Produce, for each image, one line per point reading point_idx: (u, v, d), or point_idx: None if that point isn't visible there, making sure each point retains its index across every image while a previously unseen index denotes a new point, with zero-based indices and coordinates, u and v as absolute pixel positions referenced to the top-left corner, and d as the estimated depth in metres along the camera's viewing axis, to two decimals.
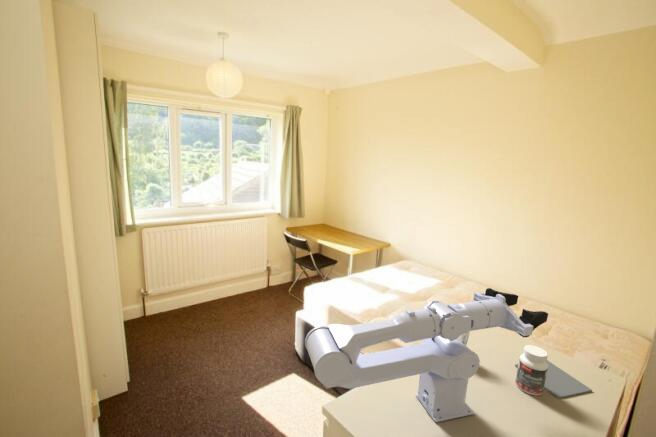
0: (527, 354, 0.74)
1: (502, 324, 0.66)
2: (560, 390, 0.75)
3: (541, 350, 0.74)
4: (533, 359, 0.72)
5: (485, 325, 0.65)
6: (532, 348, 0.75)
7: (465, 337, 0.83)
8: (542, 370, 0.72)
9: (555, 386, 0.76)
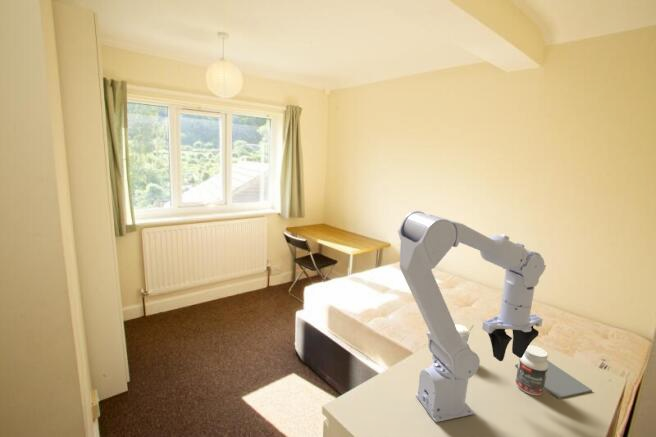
0: (527, 354, 0.74)
1: (500, 315, 0.71)
2: (560, 390, 0.75)
3: (541, 350, 0.74)
4: (533, 359, 0.72)
5: (524, 303, 0.67)
6: (532, 348, 0.75)
7: (465, 337, 0.83)
8: (542, 370, 0.72)
9: (555, 386, 0.76)
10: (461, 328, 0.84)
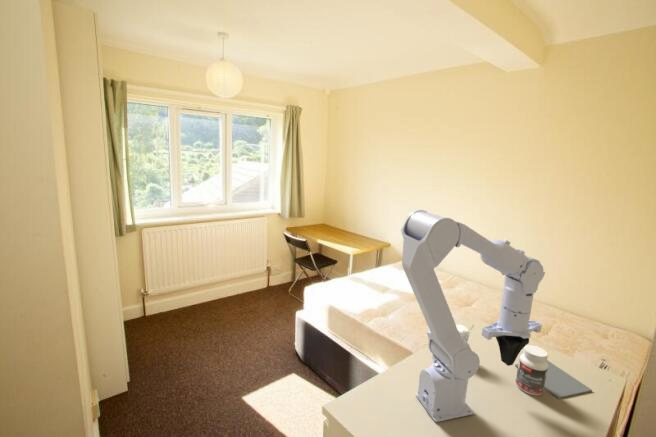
0: (527, 354, 0.74)
1: (499, 321, 0.71)
2: (560, 390, 0.75)
3: (541, 350, 0.74)
4: (533, 359, 0.72)
5: (523, 310, 0.67)
6: (532, 348, 0.75)
7: (465, 337, 0.83)
8: (542, 370, 0.72)
9: (555, 386, 0.76)
10: (461, 328, 0.84)
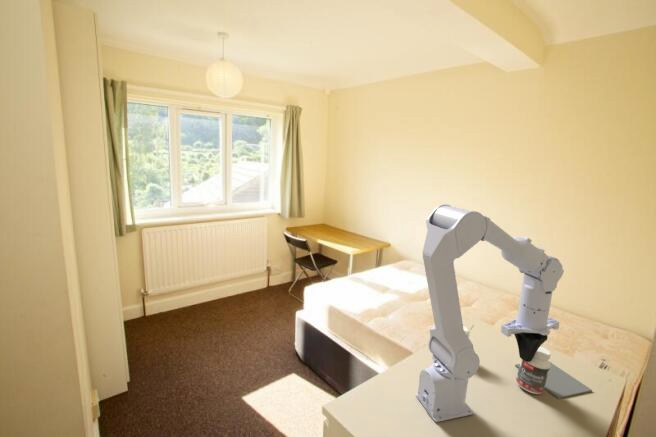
0: None
1: (518, 318, 0.72)
2: (560, 390, 0.75)
3: (544, 349, 0.74)
4: (536, 357, 0.73)
5: (542, 307, 0.68)
6: None
7: None
8: (544, 369, 0.72)
9: (555, 386, 0.76)
10: None
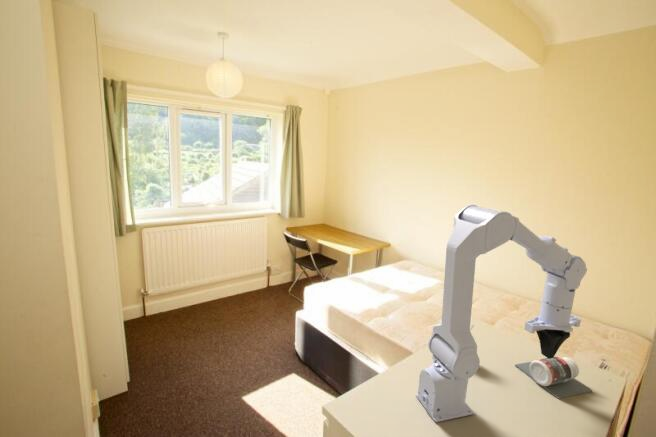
0: (568, 358, 0.79)
1: (540, 316, 0.74)
2: (560, 390, 0.75)
3: None
4: (572, 363, 0.77)
5: (566, 305, 0.70)
6: None
7: None
8: (571, 373, 0.75)
9: (555, 386, 0.76)
10: None
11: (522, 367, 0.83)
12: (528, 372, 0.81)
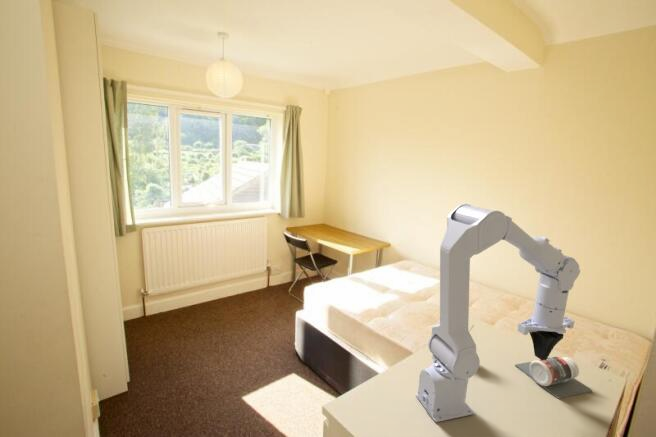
0: (568, 358, 0.79)
1: (534, 317, 0.74)
2: (560, 390, 0.75)
3: None
4: (572, 363, 0.77)
5: (559, 306, 0.69)
6: None
7: None
8: (571, 373, 0.75)
9: (555, 386, 0.76)
10: None
11: (522, 367, 0.83)
12: (528, 372, 0.81)
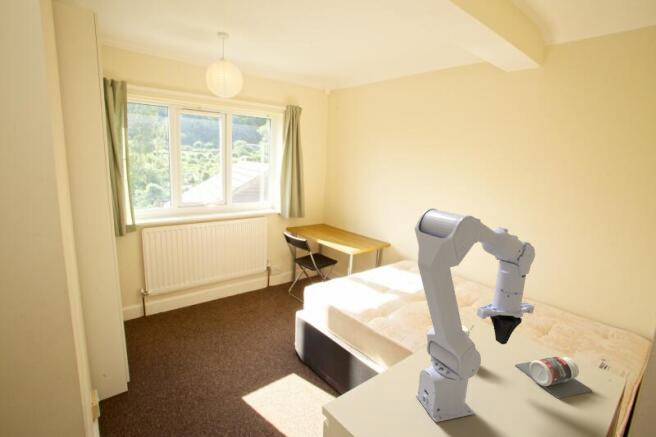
0: (568, 358, 0.79)
1: (493, 302, 0.75)
2: (560, 390, 0.75)
3: None
4: (572, 363, 0.77)
5: (519, 290, 0.71)
6: None
7: None
8: (571, 373, 0.75)
9: (555, 386, 0.76)
10: None
11: (522, 367, 0.83)
12: (528, 372, 0.81)
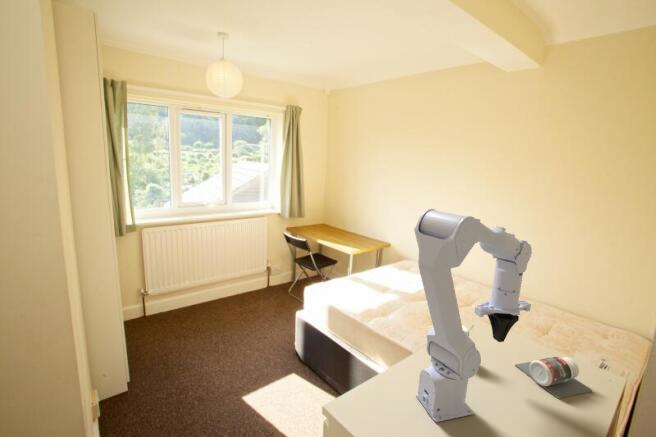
0: (568, 358, 0.79)
1: (491, 300, 0.76)
2: (560, 390, 0.75)
3: None
4: (572, 363, 0.77)
5: (516, 288, 0.72)
6: None
7: None
8: (571, 373, 0.75)
9: (555, 386, 0.76)
10: None
11: (522, 367, 0.83)
12: (528, 372, 0.81)
